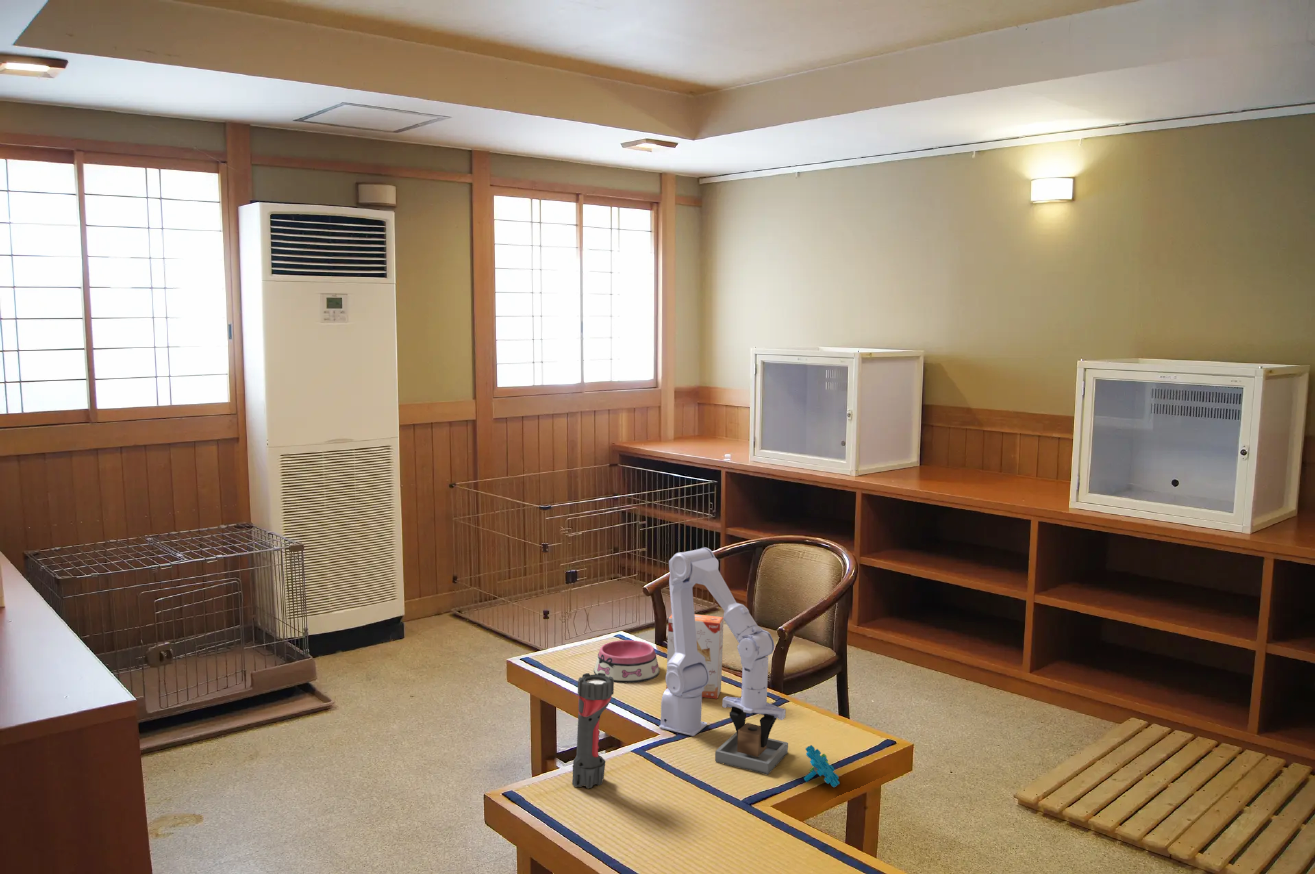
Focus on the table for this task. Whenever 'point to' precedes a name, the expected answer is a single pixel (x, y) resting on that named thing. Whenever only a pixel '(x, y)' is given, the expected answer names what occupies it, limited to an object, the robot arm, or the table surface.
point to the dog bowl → (627, 661)
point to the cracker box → (705, 649)
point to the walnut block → (750, 740)
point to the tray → (757, 764)
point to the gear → (820, 767)
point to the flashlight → (590, 728)
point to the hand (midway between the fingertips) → (752, 742)
